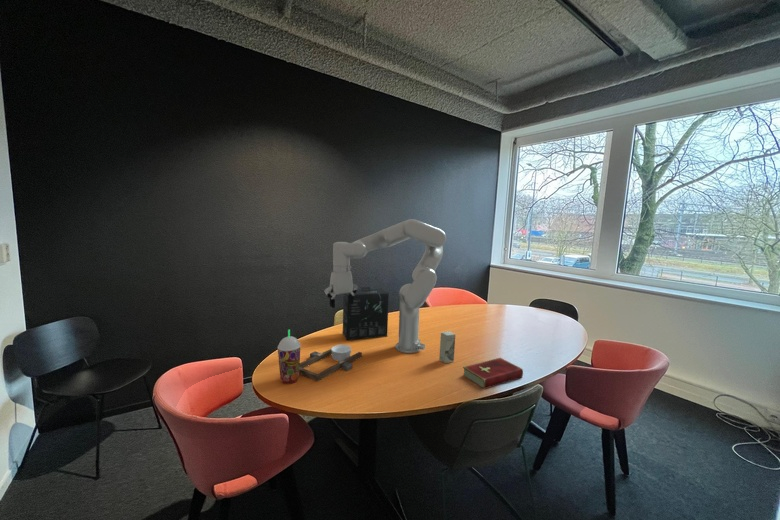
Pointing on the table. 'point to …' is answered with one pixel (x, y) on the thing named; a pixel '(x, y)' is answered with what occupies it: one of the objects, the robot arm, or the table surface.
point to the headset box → (366, 314)
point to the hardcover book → (492, 372)
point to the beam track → (341, 364)
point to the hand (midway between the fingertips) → (341, 305)
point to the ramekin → (341, 352)
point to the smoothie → (289, 359)
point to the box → (447, 347)
